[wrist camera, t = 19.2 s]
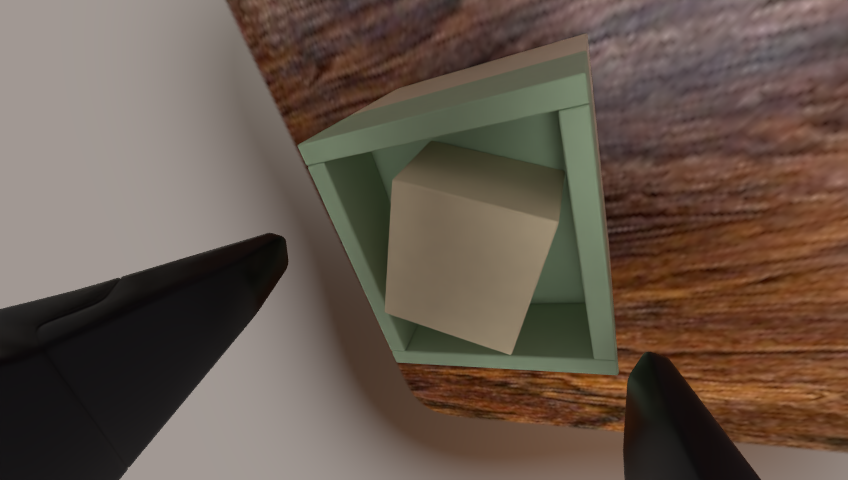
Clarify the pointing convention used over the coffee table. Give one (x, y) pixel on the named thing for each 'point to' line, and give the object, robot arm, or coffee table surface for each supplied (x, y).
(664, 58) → the coffee table surface
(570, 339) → the pad holder
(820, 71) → the coffee table surface
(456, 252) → the beige block
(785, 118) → the coffee table surface
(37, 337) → the robot arm
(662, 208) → the coffee table surface
